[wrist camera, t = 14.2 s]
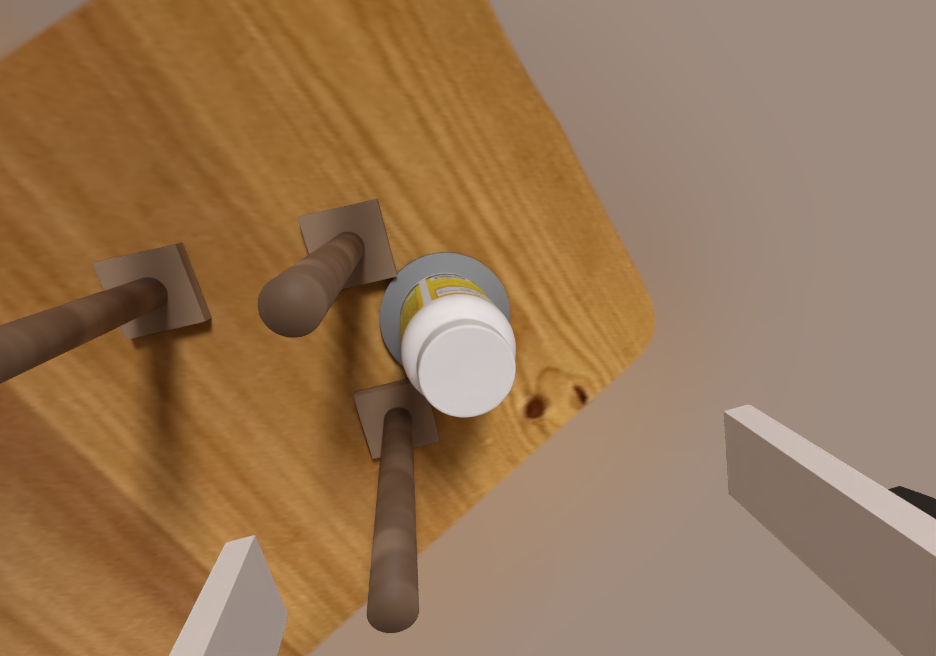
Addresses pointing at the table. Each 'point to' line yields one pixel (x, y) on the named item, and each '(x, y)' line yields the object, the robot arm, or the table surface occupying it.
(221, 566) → the robot arm
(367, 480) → the table surface
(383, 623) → the post
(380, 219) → the post corner
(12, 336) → the post
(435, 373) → the pill bottle
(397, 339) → the coaster
